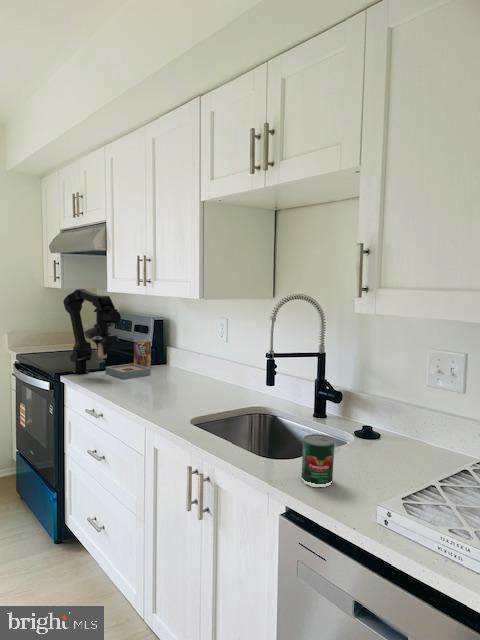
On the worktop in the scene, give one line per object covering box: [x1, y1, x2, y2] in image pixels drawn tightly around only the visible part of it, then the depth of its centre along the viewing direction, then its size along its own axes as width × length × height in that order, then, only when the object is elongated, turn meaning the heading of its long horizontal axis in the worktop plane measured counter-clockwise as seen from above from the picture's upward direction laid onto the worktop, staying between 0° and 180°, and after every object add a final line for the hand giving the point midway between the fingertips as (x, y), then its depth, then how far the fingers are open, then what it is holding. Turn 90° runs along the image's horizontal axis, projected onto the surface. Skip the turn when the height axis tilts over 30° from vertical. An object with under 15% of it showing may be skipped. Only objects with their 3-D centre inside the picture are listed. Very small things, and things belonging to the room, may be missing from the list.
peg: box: [97, 343, 108, 359], centre depth 226 cm, size 4×4×7 cm
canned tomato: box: [301, 433, 336, 484], centre depth 120 cm, size 8×8×11 cm
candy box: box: [133, 339, 152, 368], centre depth 256 cm, size 9×4×15 cm, turn 99°
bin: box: [105, 363, 152, 380], centre depth 239 cm, size 16×16×4 cm
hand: (102, 354), depth 226 cm, fingers closed on peg, 4 cm apart
